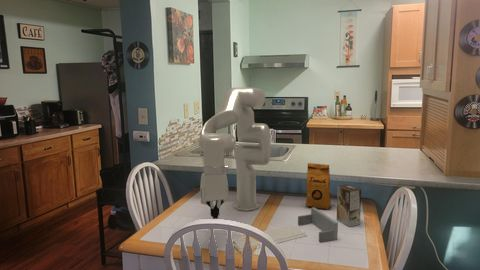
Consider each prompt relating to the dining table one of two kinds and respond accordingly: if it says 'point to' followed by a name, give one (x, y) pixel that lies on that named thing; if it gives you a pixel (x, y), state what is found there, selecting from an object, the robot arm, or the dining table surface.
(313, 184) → the coffee package
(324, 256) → the dining table surface
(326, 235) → the u-shaped bracket
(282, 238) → the baseboard molding
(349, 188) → the coffee box
